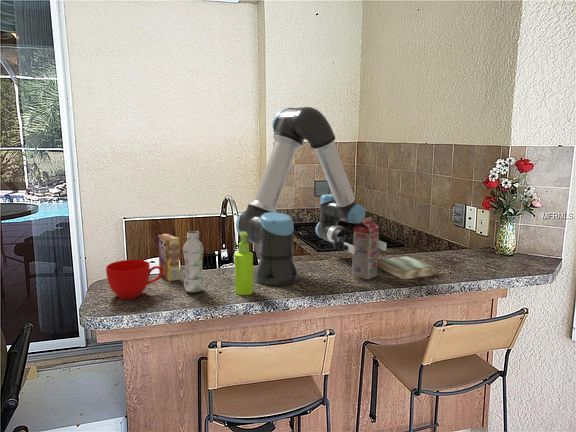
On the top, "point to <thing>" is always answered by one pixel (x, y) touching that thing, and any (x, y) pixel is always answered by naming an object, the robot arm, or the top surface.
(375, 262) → the juice carton
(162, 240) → the candy box
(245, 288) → the soap dispenser
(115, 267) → the ceramic cup
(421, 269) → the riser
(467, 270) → the top surface
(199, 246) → the plastic bottle
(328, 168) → the robot arm
